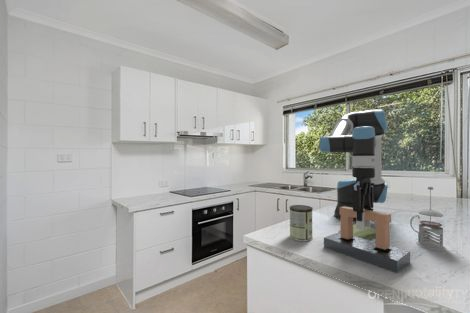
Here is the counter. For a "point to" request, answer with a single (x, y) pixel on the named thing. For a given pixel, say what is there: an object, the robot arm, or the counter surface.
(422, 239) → the french press
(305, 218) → the coffee can
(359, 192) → the robot arm
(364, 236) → the washcloth
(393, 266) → the grey slotted base block
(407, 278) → the counter surface
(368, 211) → the staple
